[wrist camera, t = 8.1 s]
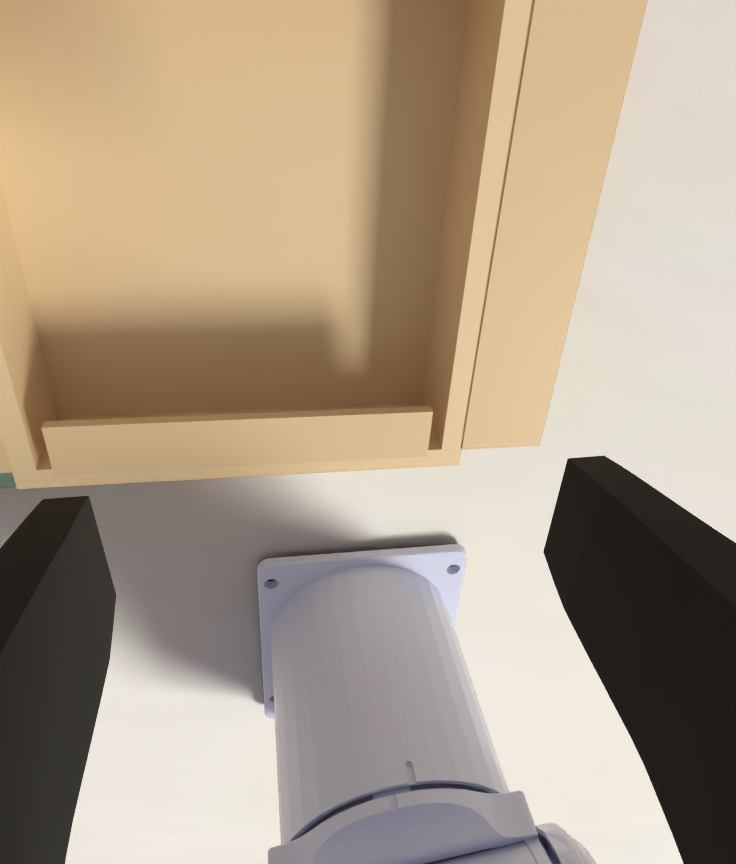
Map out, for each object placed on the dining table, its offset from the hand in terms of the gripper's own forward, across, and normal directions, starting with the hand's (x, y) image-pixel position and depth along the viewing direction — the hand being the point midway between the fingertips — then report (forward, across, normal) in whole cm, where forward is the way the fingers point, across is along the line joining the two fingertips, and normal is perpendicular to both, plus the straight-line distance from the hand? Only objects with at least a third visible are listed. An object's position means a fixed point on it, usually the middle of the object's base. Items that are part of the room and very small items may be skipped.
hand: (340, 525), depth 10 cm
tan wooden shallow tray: (+10, +1, -2) cm, 11 cm away
